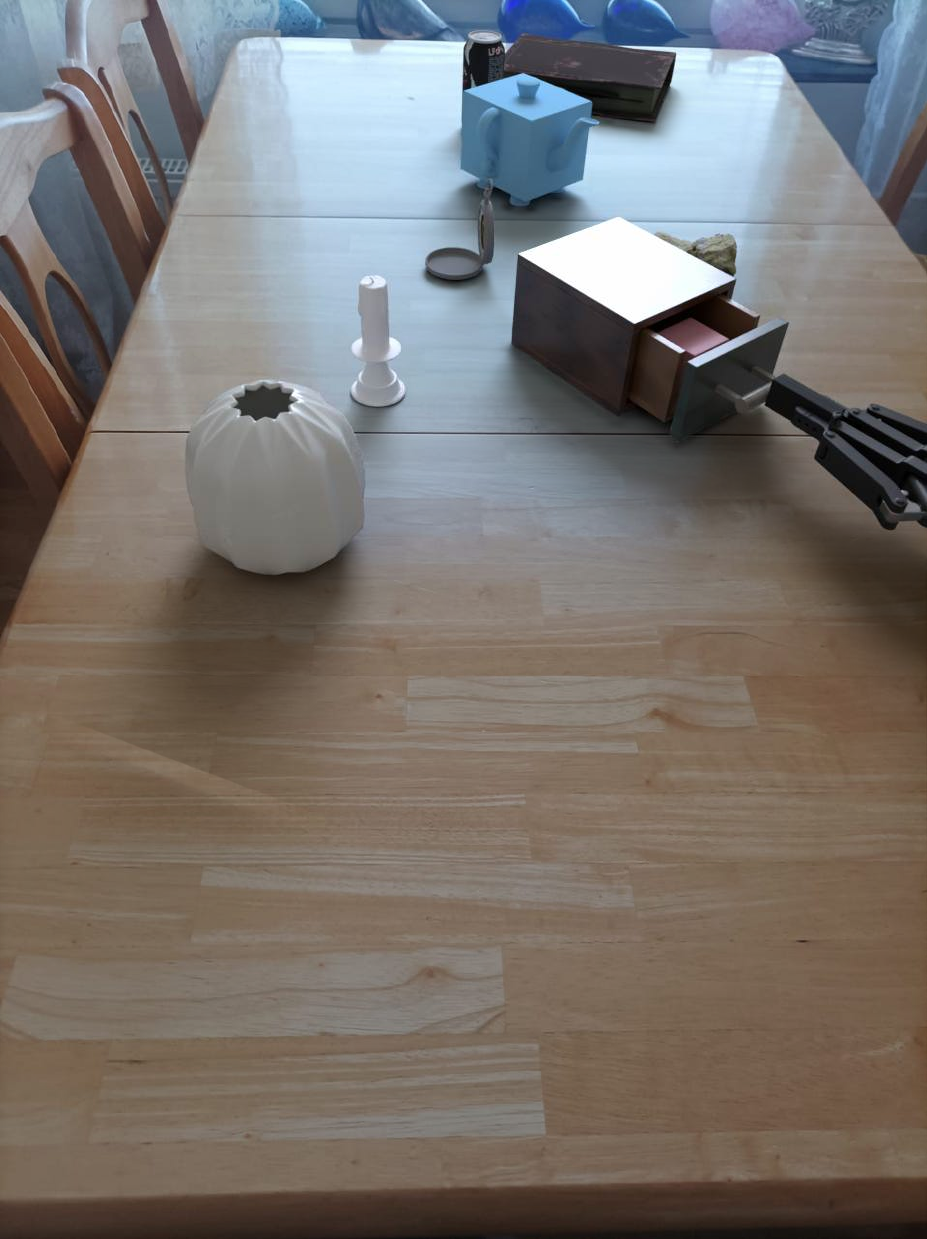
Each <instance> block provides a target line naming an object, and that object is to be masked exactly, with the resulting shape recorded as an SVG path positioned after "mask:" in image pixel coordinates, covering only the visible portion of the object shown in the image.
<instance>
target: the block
mask: <svg viewBox="0 0 927 1239" xmlns="http://www.w3.org/2000/svg"><path fill="white" fill-rule="evenodd" d="M657 334H659V335H660V336H662V337H664V338H665V339H667V340H669V341H670V342H672V343H674V344H675V345H677V346H679V347H680V348H682V349H684V350H685V351H686V353H685V357H684V362H683V366H682V370H681V374H680V379H679V383H678V387H677V392H676V395H677V396H678V397H679V393H680V389H681V384H682V380H683V376H684V372H685V368H686V363H687V361H689V360H691V359H694V358H696V357H698V356H700V355H702V354H704V353H706V352H708V351H710V350H712V349H714V348H716V347H718V346H720V345H722V344H724V343H727V342H729V339H728V338H726V337H724V336H723V335H721V334H719V333H717V332H716V331H714V330H712V329H710V328H709V327H707V326H705V325H703V324H702V323H700V322H698V321H696V320H694V319H693V318H688V319H686V320H684V321H682V322H680V323H677V324H675V325H673V326H671V327H669V328H667V329H664V330H662V331H660V332H658V333H657Z"/></svg>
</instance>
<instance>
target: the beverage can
mask: <svg viewBox="0 0 927 1239" xmlns="http://www.w3.org/2000/svg"><path fill="white" fill-rule="evenodd" d="M467 37H468V38H467V39H466V40H467V41H466V42H465V44H464V46H463V50H462V53H463V54H462V83H461V84H462V86H461V100H462V99H463V91H464V90H468V89H471V88H475V87H478V86H481V85H485V84H488V83H491V82H495V81H498V80H502V79H504V62H505V53H506V48H505V45H504V44H503V40H502V35H501V34H500V33H499V32H496V31H493V30H485V29H484V30H483V29H479V30H474V31H471V32H469V33H468V35H467ZM461 123H462V119H461Z"/></svg>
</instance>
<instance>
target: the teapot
mask: <svg viewBox="0 0 927 1239" xmlns="http://www.w3.org/2000/svg"><path fill="white" fill-rule="evenodd" d="M591 110H592V102H591V101H590V100H587V99H585V98H583V97H580V96H578V95H575V94H573V93H571V92H568V91H566V90H564V89H562V88H559V87H556V86H554V85H551V84H549V83H546V82H544V81H541V80H539V79H537V78H535V77H532V76H529V75H527V74H524V73H522V74H519V75H516V76H512V77H509V78H505V79H502V80H498V81H495V82H491V83H488V84H485V85H481V86H478V87H475V88H471V89H468V90H464V91H463V99H462V98H461V120H462V122H461V139H460V170H462V171H464V172H466V173H467V174H470V175H472V176H474V177H476V178H478V179H479V181H478V182H477V183H476V186H477V188H480V189H482V190H485V189H486V184H487V181H488V180H489V179H492V182H493V188H492V190H493V189H495V188H497V189H499V190H501V191H503V192H505V193H507V194H509V195H510V199H509V203H510V204H511V205H512V206H515V207H527V206H529V205H530V204H531V200H534V199H537V198H539V197H542V196H544V195H547V194H549V193H551V194H560V193H562V192H564V191H565V187H569V186H570V185H573V184H576V183H579V182H581V181H583V180H584V176H585V175H584V174H585V166H586V159H587V151H588V144H589V142H588V141H589V134H590V128H591V127H594V126H596V125H599V124H600V121H599V120H597V119H594V118H592V113H591ZM488 188H489V189H491V181H490V182H489V184H488Z"/></svg>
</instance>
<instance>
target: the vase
mask: <svg viewBox="0 0 927 1239" xmlns="http://www.w3.org/2000/svg"><path fill="white" fill-rule="evenodd" d="M187 435H188V436H187V437H186V440H185V449H184V470H185V471H184V473H185V474H184V475H185V483H186V491H187V494H188V498H189V503H190V506H191V507H192V509H193V510H192V512H193V521H194V525H195V528H196V533H197V536H198V539H199V540H200V542H201V543H202V546H204V547H205V548H207V549H208V550H210V551H211V552H214V553H215V554H216V555H218V556H219V557H222V558H223V559H225V560H227V561H229V562H231V563H232V564H233V565H234V566H235V567H236V568H237V569H240V570H244V571H247V572H252V573H256V574H261V575H270V576H277V575H281V574H285V573H286V574H287V573H305V572H308V571H312V570H313V569H316V568H317V567H319V566H321V565H323V564H325V563H326V562H328V561H330V560H332V559H334V558H335V557H336V556H337V555H338V553H339V552H340V551H341V550H343V549H344V548H345V547H346V546H347V545H348V544H349V543H350V542H351V541H352V540H353V539H354V538H355V537H356V535H358V534H359V533H360V531H361V530H362V529H363V528H364V522H365V517H366V516H365V502H364V498H365V489H366V485H367V484H366V483H367V482H366V470H365V464H364V461H363V457H362V452H361V448H360V446H359V443H358V439H357V436H356V434H355V432H354V430H353V427H352V425H351V424H350V422H349V421H348V419H347V418H346V417H345V414H344V413H343V412H342V411H340V410H338V409H337V408H335V407H334V406H332V405H330V403H329V401H328V399H327V398H326V396H325V395H324V394H323V393H322V392H319V391H317V390H315V389H312V388H310V387H306V386H304V385H301V384H297V383H293V382H288V381H286V380H275V379H269V378H267V379H258V380H253V381H251V382H249V383H241V384H239V385H237V386H235V387H232V388H230V389H227V390H226V391H224V392H223V393H221V394H220V395H217V396H216V397H215V398H214V399H212V400H211V401H209V402H208V404H206V405H205V408H204V412H203V414H202V415H201V416H200V417H199V418H198V419H196V421H195V422H194V423H193V424H192V425H191V426H190V430H189V433H188V434H187Z"/></svg>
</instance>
